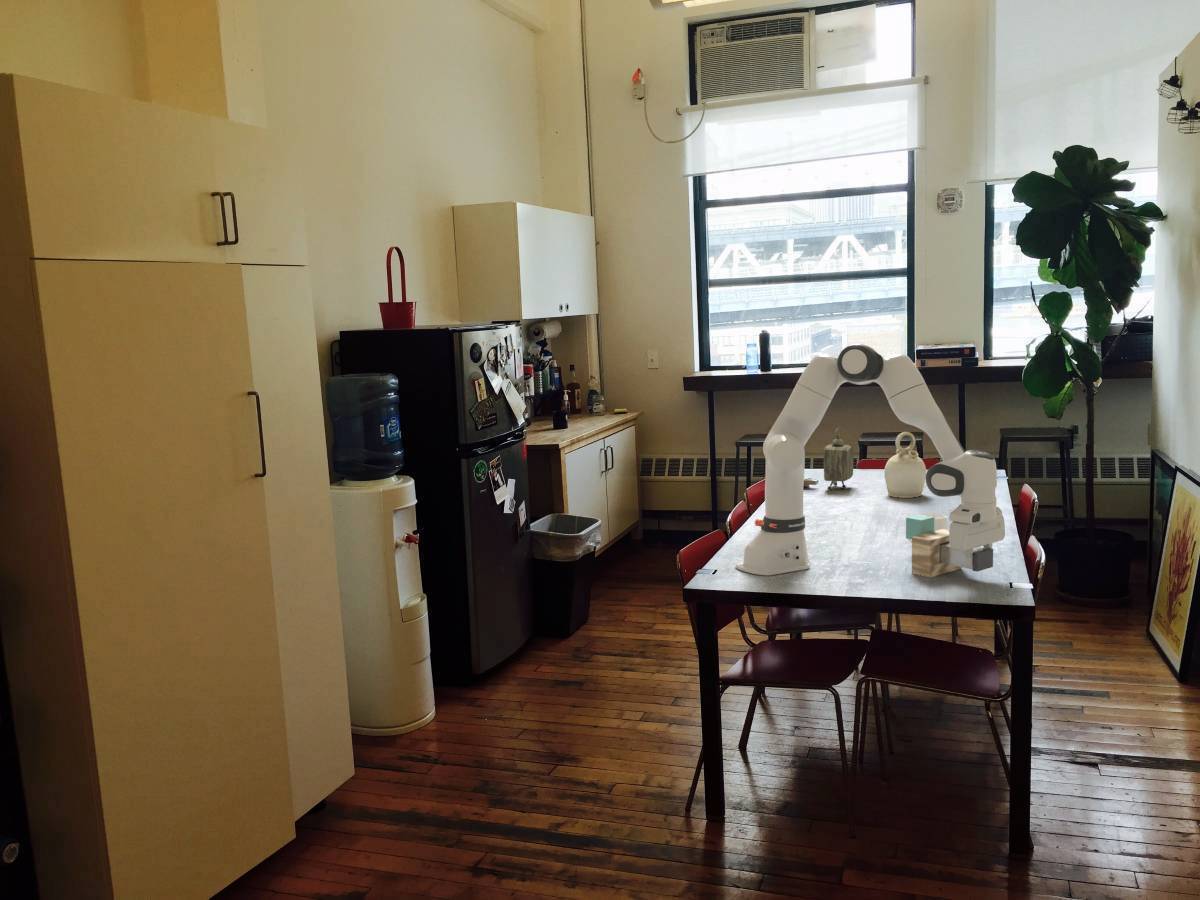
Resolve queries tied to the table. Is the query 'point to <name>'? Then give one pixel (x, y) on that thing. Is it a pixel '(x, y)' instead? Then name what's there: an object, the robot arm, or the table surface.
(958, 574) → the table surface
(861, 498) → the table surface
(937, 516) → the mug
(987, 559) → the shaft
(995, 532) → the robot arm
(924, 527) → the block
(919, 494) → the jug
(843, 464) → the tabletop clock
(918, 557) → the bearing block
